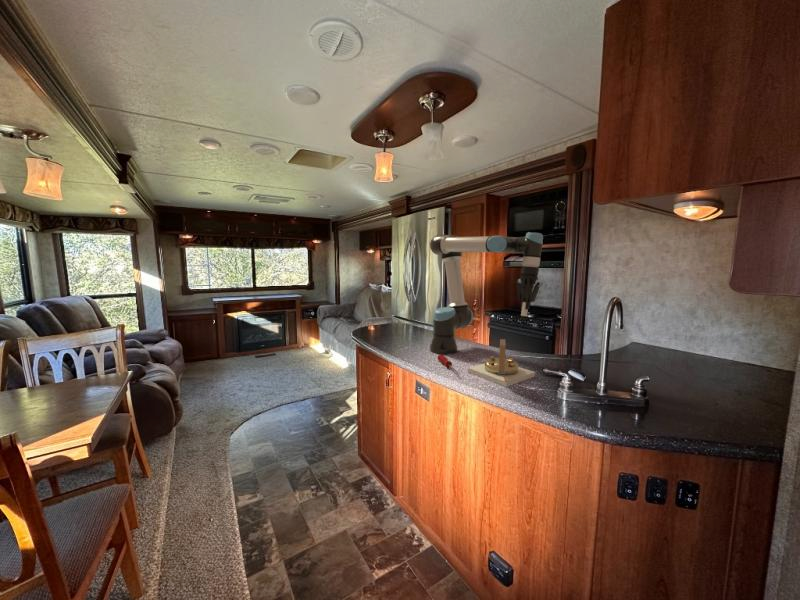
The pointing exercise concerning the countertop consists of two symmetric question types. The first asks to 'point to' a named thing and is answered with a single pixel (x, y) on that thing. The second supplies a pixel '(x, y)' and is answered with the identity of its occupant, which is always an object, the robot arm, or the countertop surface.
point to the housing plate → (502, 379)
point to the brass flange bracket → (501, 363)
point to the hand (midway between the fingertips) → (523, 315)
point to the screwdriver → (446, 362)
